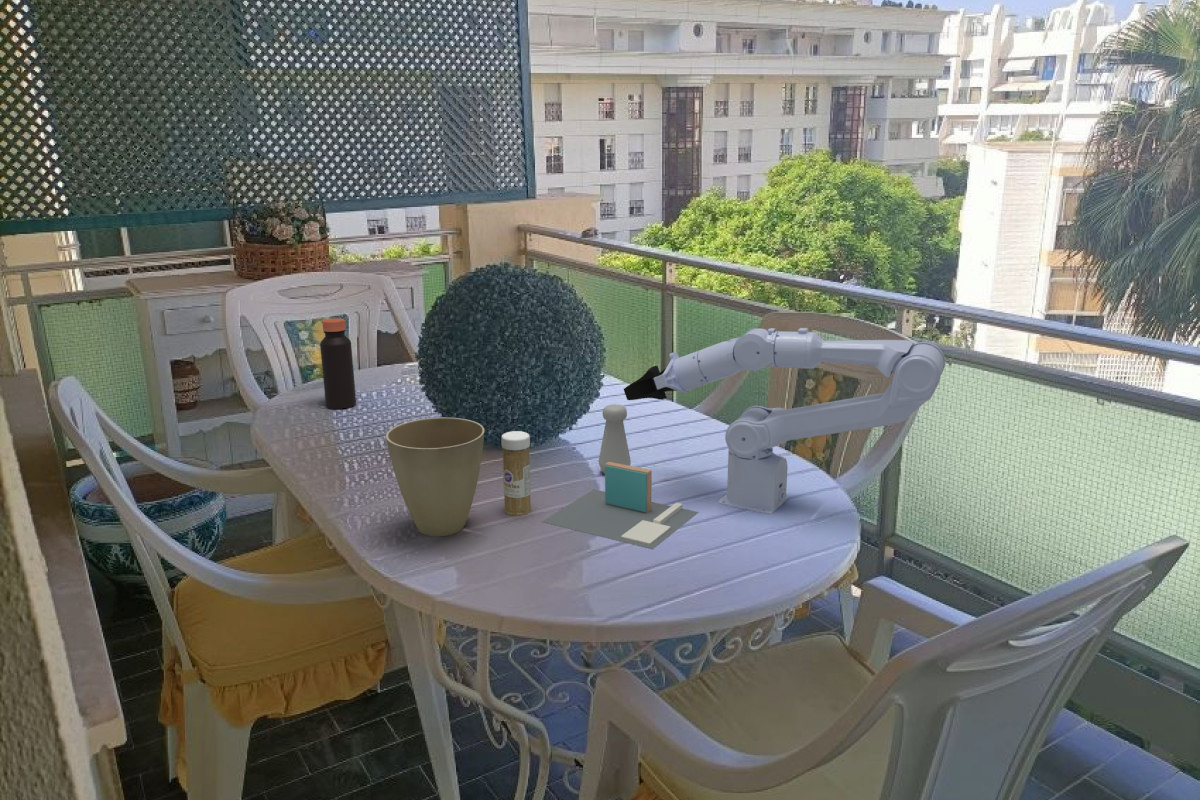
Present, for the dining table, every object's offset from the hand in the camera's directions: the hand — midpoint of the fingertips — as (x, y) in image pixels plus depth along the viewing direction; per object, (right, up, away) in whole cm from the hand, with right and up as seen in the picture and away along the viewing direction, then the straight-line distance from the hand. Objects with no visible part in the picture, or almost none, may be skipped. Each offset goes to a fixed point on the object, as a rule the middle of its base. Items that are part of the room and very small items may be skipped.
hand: (635, 391), depth 157 cm
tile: (-2, -19, -6) cm, 20 cm away
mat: (-3, -21, -10) cm, 23 cm away
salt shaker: (-3, -15, +10) cm, 18 cm away
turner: (+3, -21, -13) cm, 25 cm away
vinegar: (-66, -3, +54) cm, 85 cm away
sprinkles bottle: (-20, -20, -7) cm, 29 cm away
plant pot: (-31, -22, -12) cm, 40 cm away
